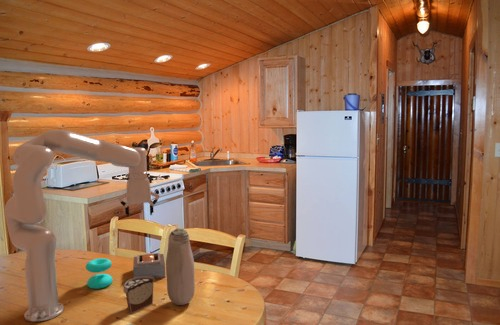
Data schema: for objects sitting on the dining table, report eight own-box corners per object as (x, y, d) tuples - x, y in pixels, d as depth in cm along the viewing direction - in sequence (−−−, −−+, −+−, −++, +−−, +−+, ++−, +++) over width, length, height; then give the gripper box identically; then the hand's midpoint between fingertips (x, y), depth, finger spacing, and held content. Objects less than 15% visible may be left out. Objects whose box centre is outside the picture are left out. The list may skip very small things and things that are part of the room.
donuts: (106, 255, 177) (115, 261, 169) (107, 277, 178) (116, 285, 170) (82, 261, 170) (90, 268, 163) (83, 284, 172) (92, 292, 164)
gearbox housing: (165, 277, 177) (164, 261, 176) (133, 281, 174) (133, 264, 173) (163, 266, 189) (163, 251, 188) (134, 269, 186) (133, 254, 185)
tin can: (155, 275, 180) (154, 257, 179) (143, 276, 178) (142, 258, 177) (154, 270, 185) (153, 253, 183) (143, 272, 183) (142, 254, 182)
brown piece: (145, 297, 158) (144, 272, 157) (155, 302, 154) (154, 276, 153) (117, 310, 149) (115, 283, 147) (127, 315, 145) (126, 288, 144)
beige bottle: (198, 305, 151) (195, 231, 147) (170, 311, 147) (166, 235, 144) (191, 294, 160) (189, 224, 156) (165, 299, 156) (162, 227, 153)
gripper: (116, 178, 172) (118, 218, 174) (158, 176, 176) (160, 216, 178) (117, 175, 179) (119, 214, 181) (158, 174, 183) (159, 211, 185)
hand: (139, 215), depth 180 cm, fingers open, 9 cm apart
